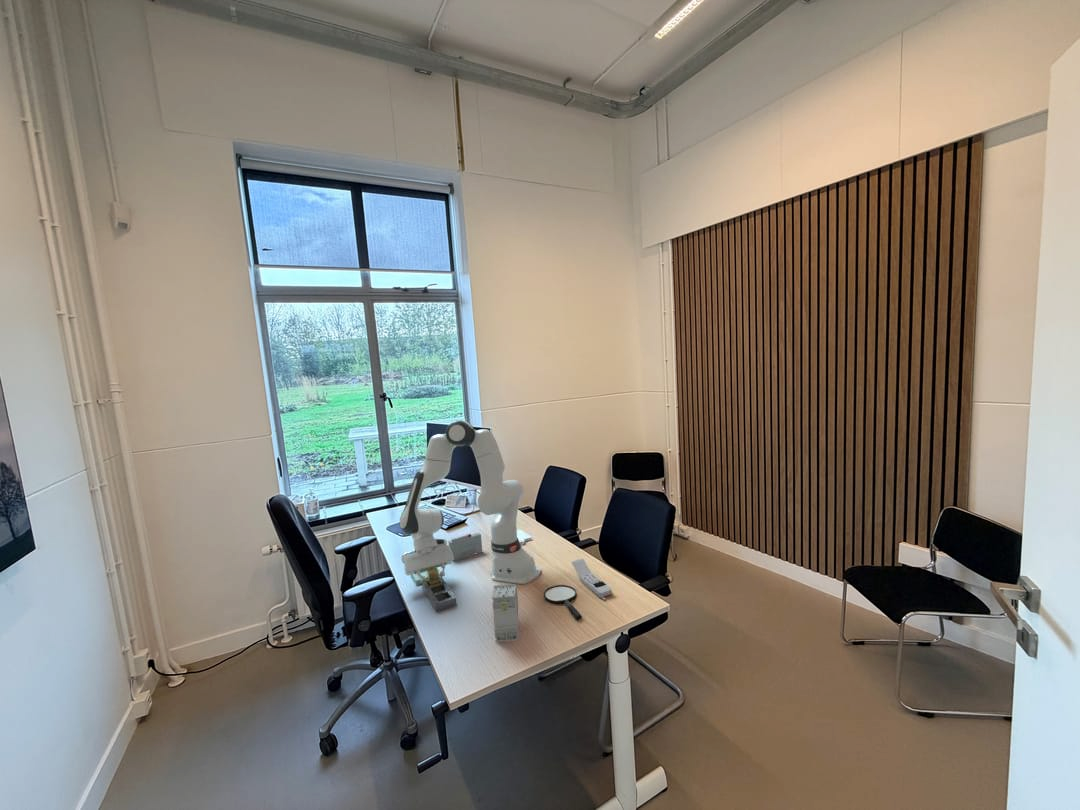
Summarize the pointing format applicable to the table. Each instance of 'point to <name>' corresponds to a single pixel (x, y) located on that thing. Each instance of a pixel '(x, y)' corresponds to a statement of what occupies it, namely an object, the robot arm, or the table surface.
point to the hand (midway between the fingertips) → (433, 578)
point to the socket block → (439, 595)
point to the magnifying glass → (562, 598)
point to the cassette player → (465, 545)
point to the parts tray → (424, 573)
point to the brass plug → (432, 576)
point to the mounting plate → (523, 536)
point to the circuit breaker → (505, 612)
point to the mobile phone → (591, 579)
